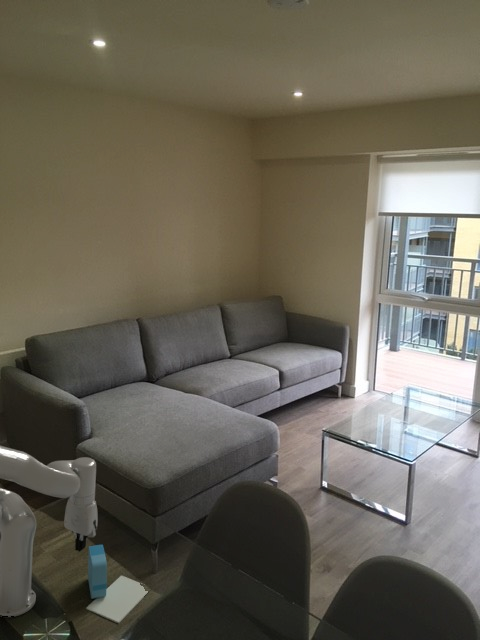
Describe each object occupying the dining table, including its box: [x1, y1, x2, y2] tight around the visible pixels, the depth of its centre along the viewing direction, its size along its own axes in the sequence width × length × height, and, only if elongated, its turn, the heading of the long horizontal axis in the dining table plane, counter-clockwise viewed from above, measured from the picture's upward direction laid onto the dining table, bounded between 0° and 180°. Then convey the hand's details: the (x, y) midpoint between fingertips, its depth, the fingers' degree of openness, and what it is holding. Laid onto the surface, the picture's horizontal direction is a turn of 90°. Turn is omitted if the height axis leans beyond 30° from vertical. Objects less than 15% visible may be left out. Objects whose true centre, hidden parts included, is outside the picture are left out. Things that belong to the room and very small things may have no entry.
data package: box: [87, 544, 108, 600], centre depth 172 cm, size 12×4×12 cm, turn 21°
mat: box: [85, 575, 149, 624], centre depth 169 cm, size 12×18×1 cm, turn 157°
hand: (80, 548), depth 174 cm, fingers closed
